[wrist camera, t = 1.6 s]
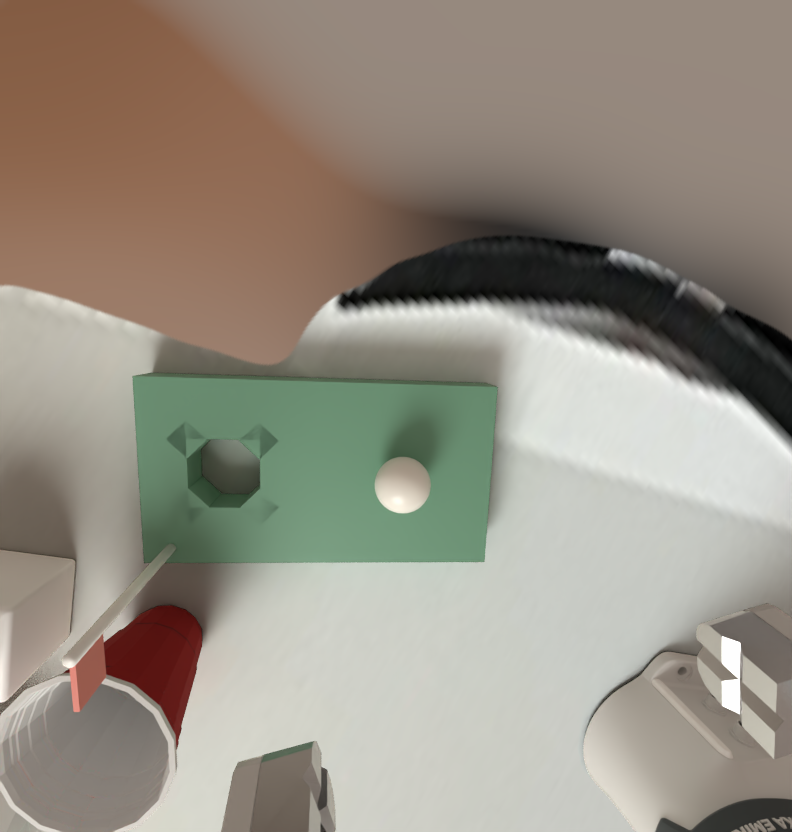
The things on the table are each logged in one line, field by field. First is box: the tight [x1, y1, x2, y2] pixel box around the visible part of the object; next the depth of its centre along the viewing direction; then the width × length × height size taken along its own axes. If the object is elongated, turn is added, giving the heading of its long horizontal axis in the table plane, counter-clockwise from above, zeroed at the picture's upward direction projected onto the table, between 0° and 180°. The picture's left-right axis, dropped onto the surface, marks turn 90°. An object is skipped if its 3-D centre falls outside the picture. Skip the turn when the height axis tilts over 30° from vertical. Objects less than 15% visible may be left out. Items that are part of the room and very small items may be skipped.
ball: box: [375, 457, 431, 513], centre depth 32 cm, size 4×4×4 cm
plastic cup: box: [0, 605, 202, 832], centre depth 32 cm, size 11×11×12 cm
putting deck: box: [61, 373, 498, 712], centre depth 29 cm, size 26×16×15 cm, turn 88°
